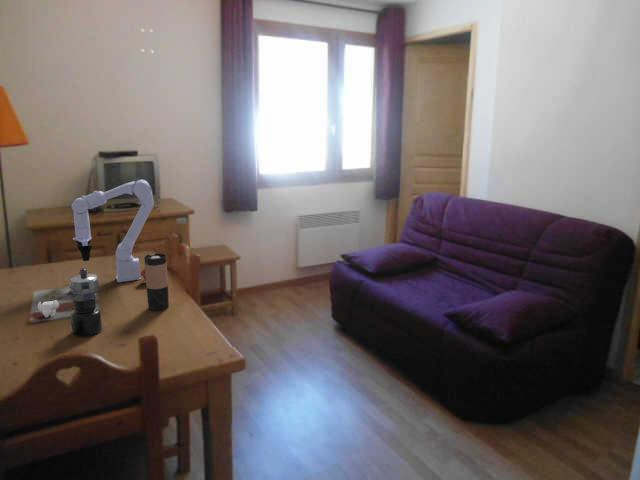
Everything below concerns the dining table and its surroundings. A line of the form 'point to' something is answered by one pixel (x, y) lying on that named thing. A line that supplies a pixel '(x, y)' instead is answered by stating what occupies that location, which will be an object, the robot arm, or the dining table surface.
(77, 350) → the dining table surface
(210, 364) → the dining table surface
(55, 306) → the elephant figurine
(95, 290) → the pot
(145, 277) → the red bell pepper
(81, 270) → the lid
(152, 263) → the travel mug
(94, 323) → the ink bottle
